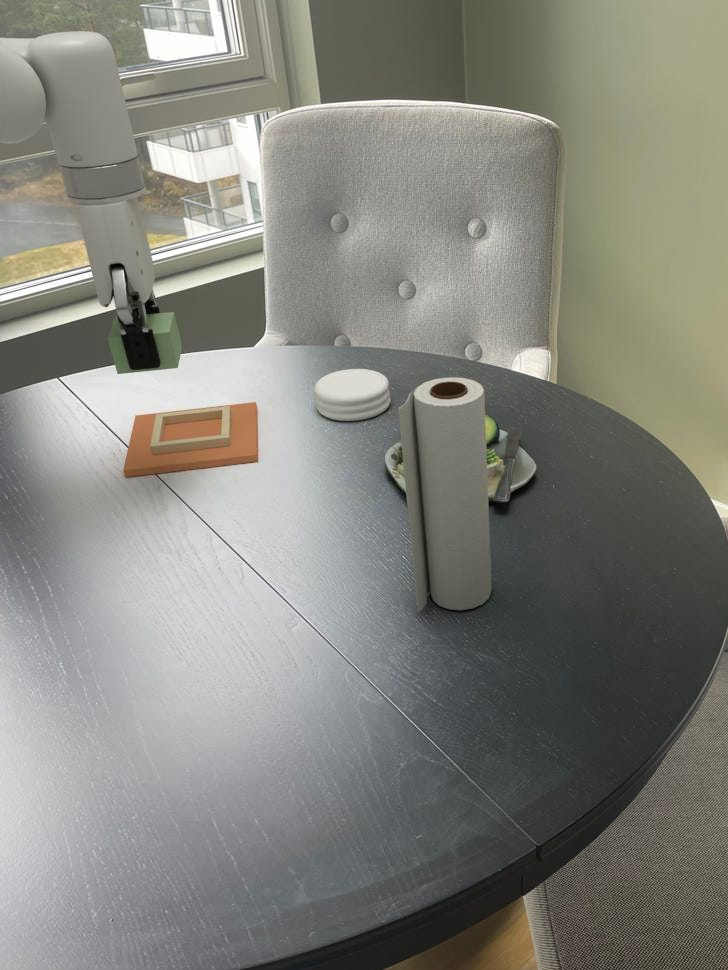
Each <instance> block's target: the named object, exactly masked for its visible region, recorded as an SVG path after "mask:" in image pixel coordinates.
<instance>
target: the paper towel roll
mask: <svg viewBox="0 0 728 970" xmlns="http://www.w3.org/2000/svg"><path fill="white" fill-rule="evenodd" d="M485 397H486V396H485V389H484V387H483V385H482V384H481V383H479V382H477V381H476V380H474V379H471V378H470V379H469V378H465V377H451V376H449V377H448V376H447V377H441V378H434V379H431V380H428V381H425V382H423V383H421V384H420V385H418V386H417V387H416V388H414V389H413V390H412V391H411V392H409V393H408V397H407V400H406V401H405V403H403V405H401V406H399V407H398V408H397V410H398V419H399V429H400V430H399V432H400V440H401V443H402V453H403V464H404V474H405V485H406V493H405V495H406V504H407V505H406V506H407V515H408V525H409V535H410V547H411V557H412V567H413V568H412V569H413V578H414V588H415V600H416V610H417V613H420V612H421V611H422V610H423V609H424V607H425V605H426V604H427V601H428V595H429V594H430V595H431V600H432V601H433V602H434V603H435V604H437V605H438V606H439V607H440V608H441V607H442V608H444V609H448V610H454V611H465V610H472V609H475V608H477V607H479V606H482V605H484V603H486V602H487V601H488V600H489V599H490V596H491V593H492V590H493V589H492V588H493V587H492V564H491V563H492V562H491V538H490V536H491V535H490V512H489V511H490V509H489V502H488V478H487V451H486V423H485V414H486V401H485V399H486V398H485Z"/></svg>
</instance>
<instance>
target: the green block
mask: <svg viewBox="0 0 728 970" xmlns="http://www.w3.org/2000/svg"><path fill="white" fill-rule="evenodd" d="M146 316H147V321H148V327H149V329H152V330H153V334H154V338H155V342H156V346H157V350H158V354H159V358H160V362H161V364H160V367H158V368H151V369H141V370H131V369H130V367H129V363H128V360H127V356H126V352H125V349H124V345H123V341H122V338H121V332H120V328H119V323H118V318H117V316H116V317H114V320H113V322H112V324H111V326H110V327H111V328H110V330H109V333H108V335H107V342H108V346H109V349H110V352H111V355H112V360H113V364H114V367H115V371H116V374H117V375H123V374H134V373H143V372H154V371H162V370H173V369H178V368H179V364H180V359H181V354H182V350H183V345H182V339H181V336H180V331H179V327H178V322H177V318H176V314H175V312H174V311H169V312H167V311H166V312H160V313H157V314H146ZM139 318H140V316H139Z"/></svg>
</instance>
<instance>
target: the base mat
mask: <svg viewBox="0 0 728 970" xmlns="http://www.w3.org/2000/svg"><path fill="white" fill-rule="evenodd" d="M258 425H259V424H258V404H257V402H256V401H252V402H244V403H234V404H227V405H226V404H225V405H216V406H207V407H200V408H199V407H198V408H191V409H189V408H188V409H181V410H173V411H164V412H162V411H161V412H154V413H146V414H145V413H144V414H137V415H136V414H135V416H134V421H133V426H132V430H131V434H130V438H129V443H128V446H127V447H128V448H127V453H126V456H125V461H124V466H123V470H122V471H123V474H124V477H125V478H131V477H132V478H133V477H140V476H148V475H149V476H150V475H157V474H166V473H174V472H182V471H191V470H199V469H207V468H215V467H223V466H233V465H240V464H249V463H257V462H259V436H258V435H259V429H258ZM198 468H199V469H198ZM173 471H174V472H173Z"/></svg>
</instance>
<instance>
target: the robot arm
mask: <svg viewBox="0 0 728 970" xmlns="http://www.w3.org/2000/svg"><path fill="white" fill-rule="evenodd" d="M116 60H117V59H116V56H115V52H114V49H113V47H112V44H111V42H110V41H109V40H108V39H107V38H106V36H104V35H103V34H101V33H99V32H96V31H87V30H77V31H76V30H75V31H74V30H73V31H62V32H61V31H60V32H53V33H47V34H43V35H40V36H37V37H34V38H25V37H24V38H21V37H20V38H19V37H17V38H15V37H14V38H13V37H0V144H3V145H11V144H14V145H15V144H19V143H23V142H24V141H26V140H28V139H30V138H31V137H33V136H34V135H35V134H36V133H37V132H38V131H39V130H40V128H41V126H42V125H43V122H45V123H46V125H47V129H48V132H49V135H50V139H51V142H52V147H53V149H54V153H55V157H56V161H57V163H58V167H59V170H60V175H61V178H62V182H63V185H64V188H65V192H66V196H67V199H68V202H70V203H72V204H74V205H77V206H78V214H79V220H80V226H81V230H82V231H81V232H82V236H83V240H84V246H85V249H86V254H87V259H88V263H89V266H90V271H91V275H92V279H93V283H94V284H93V285H94V287H95V292H96V295H97V300H98V303H99V304H100V306H101V307H103V308H108V307H109V306H110V305H111V303H112V301H114V307H115V312H116V317H117V318H118V323H119V328H120V332H121V338H122V341H123V345H124V349H125V352H126V356H127V360H128V363H129V367H130V369H131V370H141V369H151V368H158V367H160V364H161V362H160V358H159V354H158V350H157V346H156V342H155V338H154V334H153V330H152V329H149V327H148V321H147V316H146V314H157V313H161V311H160V307H159V306H157V305H158V303H157V298H156V294H155V292H154V289H153V288H154V284H155V280H156V273H155V272H156V271H155V266H154V260H153V256H152V252H151V251H152V250H151V247H150V242H149V238H148V234H147V229H146V227H145V222H144V219H143V215H142V211H141V205H140V204H139V200H138V199H139V198H140V197H142V196H144V195H146V193H147V187H146V184H145V179H144V175H143V170H142V166H141V162H140V157H139V153H138V149H137V145H136V140H135V136H134V132H133V128H132V124H131V119H130V115H129V111H128V105H127V101H126V98H125V92H124V90H123V85H122V82H121V81H122V80H121V76H120V72H119V68H118V63H117V61H116ZM139 316H140V318H139Z"/></svg>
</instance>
